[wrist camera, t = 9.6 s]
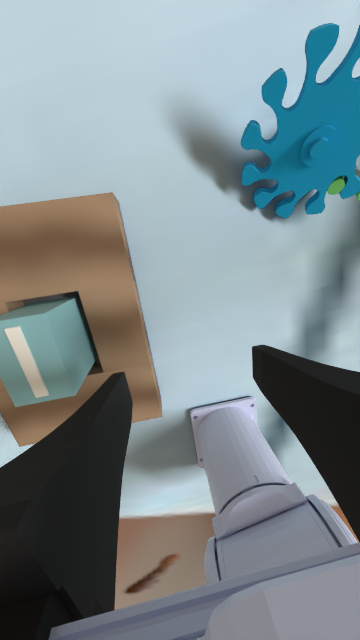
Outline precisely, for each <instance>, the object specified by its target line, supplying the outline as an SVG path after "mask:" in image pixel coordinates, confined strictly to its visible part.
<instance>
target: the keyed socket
mask: <svg viewBox="0 0 360 640" xmlns="http://www.w3.org/2000/svg"><path fill="white" fill-rule="evenodd" d="M77 295H79V296H80V299H81V302H82V305H83V308H84V312H85V315H86V318H87V321H88V324H89V327H90V331H91V334H92V337H93V340H94V343H95V346H96V350H97V353H98V357H97V359H96V360H95V362H94V364H93V366H92V367H91V369H90V371H89V373H88V374H87V376H86V378H85V380H84V381H83V383H82V385H81V387H80V389H79V390H78V392H77V394H76V395H75V396H70V397H65V398H60V399H55V400H50V401H44V402H39V403H34V404H29V405H24V406H19V407H15V405H14V403H13V401H12V399H11V397H10V395H9V394H8V392H7V390H6V388H5V386H4V384H3V382H2V380H1V378H0V412H1V414H2V416H3V418H4V420H5V421H6V423H7V425H8V427H9V429H10V430H11V432H12V434H13V436H14V438H15V440H16V441H17V443H18V445H19V447H21V446H25V445H30V444H35V443H37V442H39V441H40V440H41V439H43V438H44V437H45V436H47V435H48V434H50V433H51V432H52V431H53V430H55V429H56V428H57V427H58V426H59V425H61V424H62V423H63V422H64V421H65V420H67V419H68V418H69V417H70V416H71V415H72V414H73V413H75V412H76V411H77V410H78V409H79V408H80V407H81V406H82V405H83V404H84V403H85V402H86V401H87V400H88V399H89V398H90V397H91V396H92V395H93V394H94V393H95V392H96V391H97V390H98V389H99V387H100V386H101V385H102V384H103V383H104V382H105V381H106V380H107V379H108V378H109V377H110V376H111V375H112V374H113V373H118V372H123V371H124V372H125V375H126V379H127V383H128V386H129V390H130V394H131V397H132V401H133V408H132V422H131V423H134V422H138V421H143V420H148V419H153V418H157V417H162V404H161V396H160V391H159V387H158V382H157V378H156V373H155V368H154V364H153V359H152V354H151V350H150V345H149V340H148V336H147V331H146V326H145V322H144V317H143V313H142V308H141V303H140V299H139V294H138V289H137V285H136V280H135V275H134V271H133V266H132V262H131V257H130V252H129V248H128V243H127V238H126V234H125V229H124V224H123V220H122V215H121V210H120V206H119V202H118V200H117V199H116V197H115V196H114V194H113V192H112V193H104V194H96V195H88V196H80V197H73V198H65V199H57V200H49V201H41V202H33V203H26V204H18V205H10V206H2V207H0V315H2V314H4V313H7V312H10V311H12V310H15V309H18V308H20V307H23V306H26V305H28V304H31V303H34V302H40V301H46V300H52V299H59V298H65V297H71V296H77Z"/></svg>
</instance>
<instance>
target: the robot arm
mask: <svg viewBox="0 0 360 640" xmlns="http://www.w3.org/2000/svg"><path fill="white" fill-rule="evenodd" d="M252 361H253V378H254V380H255V382H256V383H257V385H258V387H259V388H260V390H261V392H262V393H263V394H264V396H265V397H266V398H267V400H268V401H269V402H270V403H271V405H272V406H273V407H274V408H275V410H276V411H277V412H278V413H279V415H280V416H281V417H282V418H283V420H284V421H285V422H286V423H287V425H288V426H289V427H290V429H291V430H292V431H293V433H294V434H295V435H296V437H297V438H298V440H299V441H300V443H301V444H302V446H303V447H304V449H305V450H306V452H307V454H308V455H309V457H310V458H311V460H312V461H313V463H314V465H315V466H316V468H317V469H318V471H319V473H320V474H321V476H322V477H323V479H324V481H325V482H326V484H327V486H328V488H329V489H330V491H331V493H332V494H333V496H334V498H335V499H336V501H337V503H338V504H339V506H340V508H341V510H342V511H343V513H344V515H345V517H346V518H347V520H348V522H349V524H350V526H351V527H352V529H353V531H354V533H355V534H356V536H357V538H358V540H359V543H358V542H357V541H356V539H355V538H354V536H353V535H352V533H351V532H350V531H349V529H348V528H347V526H346V525H345V524H344V522H343V521H342V520H341V519H340V517H339V516H338V515H337V514H336V512H335V511H334V510H333V509H332V508H331V507H330V506H329V505H328V504H327V503H326V502H324V501H323V500H321V499H319V498H317V497H316V496H315V495H313V494H311V495H309V496H307V497H306V498H305V496H304V494H303V493H302V491H301V490H300V488H299V486H298V485H297V483H291V481H290V479H289V478H288V476H287V474H286V473H285V471H284V469H283V468H282V466H281V464H280V463H279V461H278V460H277V458H276V456H275V455H274V453H273V451H272V450H271V448H270V446H269V445H268V443H267V441H266V440H265V438H264V436H263V435H262V433H261V431H260V430H259V428H258V427H257V421H256V399H255V398H254V397H247V398H242V399H238V400H233V401H228V402H224V403H219V404H214V405H209V406H205V407H200V408H195V409H192V410H191V411H190V415H191V421H192V428H193V434H194V440H195V446H196V452H197V459H198V465H199V467H200V468H204V467H205V470H206V475H207V479H208V483H209V487H210V491H211V496H212V500H213V504H214V508H215V512H216V517H214V518H212V522H213V528H214V532H215V536H214V537H212V538H210V539H209V540H208V544H207V550H206V553H205V560H204V566H205V580H206V585H204V586H200V587H197V588H193V589H190V590H186V591H182V592H179V593H175V594H172V595H168V596H164V597H161V598H158V599H154V600H150V601H146V602H143V603H139V604H136V605H132V606H128V607H125V608H121V609H118V610H114V604H115V580H116V579H115V578H116V559H117V558H116V557H117V539H118V524H119V510H120V497H121V486H122V475H123V468H124V461H125V456H126V450H127V445H128V439H129V434H130V428H131V422H132V408H133V401H132V397H131V394H130V390H129V386H128V383H127V379H126V375H125V372H124V371H123V372H118V373H113V374H112V375H111V376H110V377H109V378H108V379H107V380H106V381H105V382H104V383H103V384H102V385H101V386H100V387H99V389H98V390H97V391H96V392H95V393H94V394H93V395H92V396H91V397H90V398H89V399H88V400H87V401H86V402H85V403H84V404H83V405H82V406H81V407H80V408H79V409H78V410H77V411H76V412H75V413H73V414H72V415H71V416H70V417H69V418H68V419H67V420H65V421H64V422H63V423H62V424H61V425H59V426H58V427H57V428H56V429H55V430H53V431H52V432H51V433H50V434H48V435H47V436H45V437H44V438H43V439H41V440H40V441H39V442H37V443H36V444H35V445H33V446H32V447H31V448H29V449H28V450H26V451H25V452H23V453H22V454H21V455H19V456H18V457H16V458H15V459H13V460H12V461H10V462H9V463H7V464H5V465H4V466H2V467H1V468H0V640H360V372H356V371H351V370H346V369H342V368H338V367H334V366H329V365H326V364H322V363H319V362H315V361H312V360H308V359H305V358H302V357H299V356H296V355H293V354H290V353H287V352H284V351H282V350H279V349H276V348H273V347H270V346H266V345H258V346H253V347H252ZM251 404H252V405H251ZM194 416H196V417H194Z"/></svg>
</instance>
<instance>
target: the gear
mask: <svg viewBox="0 0 360 640" xmlns="http://www.w3.org/2000/svg"><path fill="white" fill-rule="evenodd" d="M338 35H339V25H336V24H333V23H328V24H324V25H321V26H318V27H316V28H314V29H312V30H310V32H309V34H308V37H307V40H306V44H305V54H306V60H307V68H306V75H305V80H304V83H303V87H302V89H301V92H300V95H299V97H298V99H297V101H296V103H295V104H294V105H293V106H291V107H289V108H284V107H283V106H282V99H283V96H284V93H285V90H286V86H287V77H286V74H285V71H284V70H283V69H282V68H280V69H278V70H277V71H275V72H274V73H273V74H272V75H271V76H270V77H269V78H268V79H267V80H266V82H265V83H264V84H263V85H262V98H263V100H264V102H265V103H266V104H268V105H269V106H270V107H271V108H272V109H273V110H274V112H275V114H276V117H277V132H276V134H275V135H274V136H273V137H272V138H271V139H269V140H265V139H263V138H262V136H261V130H260V125H259V123H258V122H257V121H255V120H251V121H250V122H249V123H248V125H247V127H246V128H245V131H244V133H243V136H242V139H241V146H242V147H243V148H244V149H246V150H250V149H257V150H260V151H262V152H264V153H265V154H266V155H267V156H268V157H269V158H270V159H271V161H270V163H269V165H268V166H267V167H265V168H259V167H257V165H256V164H255V163H253V162H246V163H244V165H243V169H242V185H244V186H248V185H251V184H252V183H254V182H256V181H258V180H261V179H274V180H277V181H278V182H277V184H276V185H275V186H274V187H273V188H270V189H268V188H259V189H257V190H256V191H255V192H254V202H255V204H256V206H257V207H258V208H259V209H262V208H264V207H265V206H266V205H267V204H268V203H269V202H270V201H271V200H272V199H273V198H274V197H276V196H277V195H279V194H281V193H284V192H286V191H294V193H293V195H292V196H291V197H289V198H286V199H283V200H281V201H280V202H278V203H277V205H276V207H275V210H276V214H277V215H278V216H280V217H283V218H288V217H289V216H290V215H291V214H292V212H293V209H294V207H295V205H296V203H297V202H298V201H299V200H300V199H301V198H302V197H303V196H304V195H305V194H306V193H308V192H309V191H311V190H313V189H317V192H316V194H315V195H313V196H312V197H311V198H310V199H308V200H307V202H306V203H305V210H306V214H318V213H321V212H322V211H323V210H324V208H325V203H324V198H325V194H326V191H328V193H329V194H331V195H335V194H337V193H339V194H340V196H341V198H342V199H345V198H348V197H351V196H353V195H355V194H356V196H357V198H358V200H359V201H360V171H359V170H358V168H357V166H356V160H357V158H358V156H359V155H360V76H359V77H356V78H352V70H353V67H354V65H355V63H356V61H357V60H358V59H359V58H360V25H359V29H358V32H357V35H356V37H355V39H354V42H353V44H352V46H351V48H350V50H349V51H348V53H347V55H346V56H345V58H344V59H343V61H342V62H341V64H340V65H339V66H338V67H337V69H336V70H335V71H334V72H333V73H332V74H331V76H330V77H329V78H328V79H327V80H326V81H324V82H322V83H316V74H317V71H318V69H319V67H320V65H321V64H322V63H323V61H324V60H325V59H326V58H327V56H328V55H329V54H330V52H331V51H332V50H333V48H334V46H335V44H336V41H337V39H338Z"/></svg>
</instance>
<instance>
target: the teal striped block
mask: <svg viewBox="0 0 360 640" xmlns="http://www.w3.org/2000/svg"><path fill="white" fill-rule="evenodd" d="M97 357H98V353H97V350H96V346H95V343H94V340H93V337H92V334H91V331H90V327H89V324H88V321H87V318H86V315H85V312H84V308H83V305H82V302H81V299H80V296H79V295H77V296H71V297H65V298H59V299H52V300H46V301H40V302H34V303H31V304H28V305H26V306H23V307H20V308H18V309H15V310H12V311H10V312H7V313H4V314H2V315H0V378H1V380H2V382H3V384H4V386H5V388H6V390H7V392H8V394H9V395H10V397H11V399H12V401H13V403H14V405H15V407H19V406H24V405H29V404H34V403H39V402H44V401H50V400H55V399H60V398H65V397H70V396H75V395H76V394H77V392H78V390H79V389H80V387H81V385H82V383H83V381H84V380H85V378H86V376H87V374H88V373H89V371H90V369H91V367H92V366H93V364H94V362H95V360H96V359H97Z"/></svg>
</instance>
